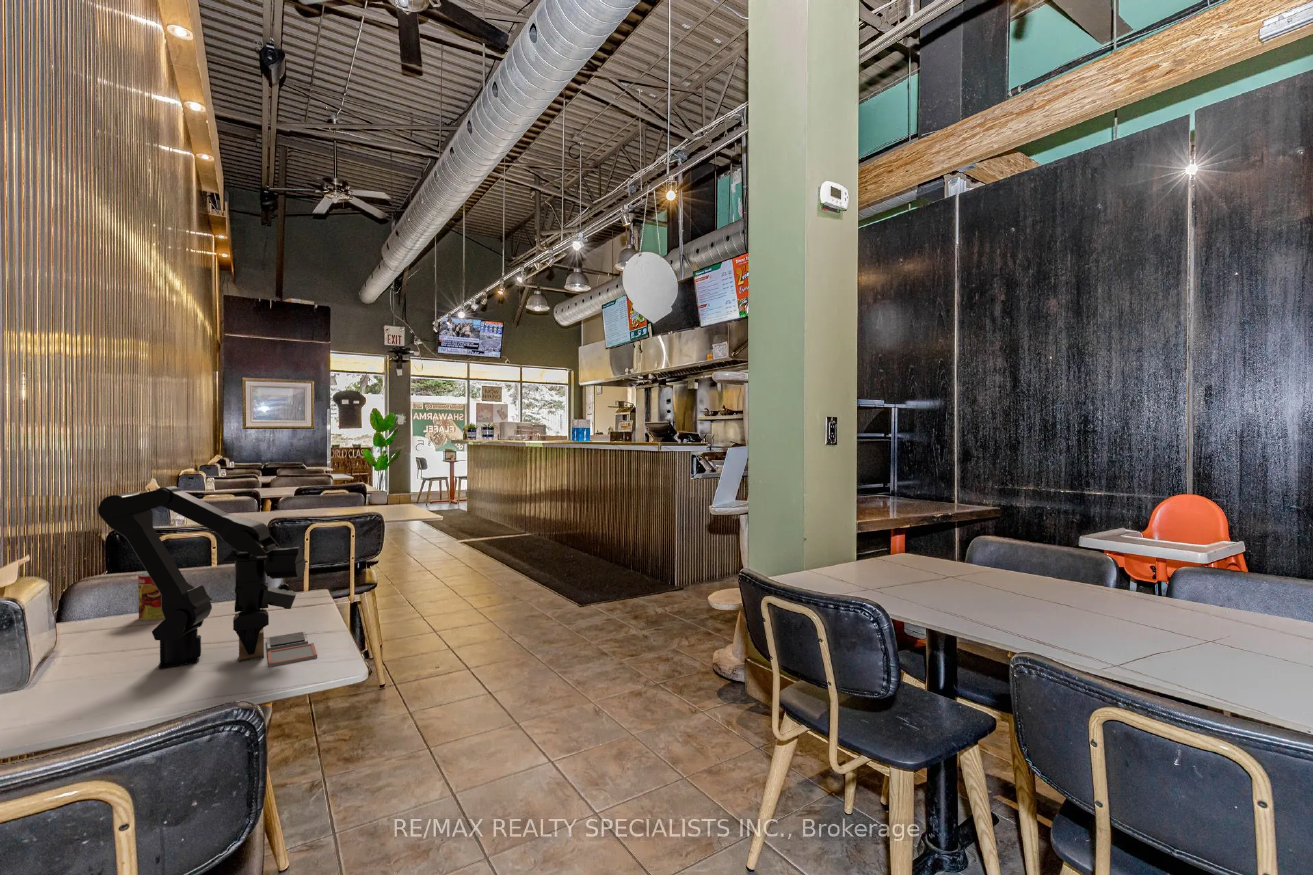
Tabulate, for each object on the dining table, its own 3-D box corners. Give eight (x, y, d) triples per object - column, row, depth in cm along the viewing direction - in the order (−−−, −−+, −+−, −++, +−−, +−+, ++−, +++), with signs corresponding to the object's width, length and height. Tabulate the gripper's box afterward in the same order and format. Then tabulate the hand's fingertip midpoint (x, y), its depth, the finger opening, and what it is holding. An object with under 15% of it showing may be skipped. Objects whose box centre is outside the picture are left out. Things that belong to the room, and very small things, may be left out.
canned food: (144, 614, 165) (144, 570, 165) (180, 610, 168) (179, 567, 168) (134, 622, 158) (133, 576, 158) (171, 618, 161) (170, 573, 161)
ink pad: (267, 651, 136) (267, 646, 136) (266, 641, 143) (266, 636, 143) (308, 644, 140) (308, 639, 140) (305, 634, 147) (305, 630, 147)
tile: (268, 666, 127) (268, 663, 127) (267, 653, 135) (267, 651, 135) (317, 657, 132) (317, 654, 132) (313, 645, 140) (313, 642, 140)
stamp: (239, 662, 130) (238, 634, 130) (239, 655, 134) (239, 629, 134) (263, 657, 132) (263, 630, 132) (263, 651, 136) (263, 625, 136)
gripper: (295, 583, 130) (296, 654, 130) (290, 567, 145) (291, 631, 145) (232, 591, 123) (233, 666, 124) (234, 573, 139) (235, 640, 139)
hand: (251, 649), depth 133 cm, fingers open, 6 cm apart
